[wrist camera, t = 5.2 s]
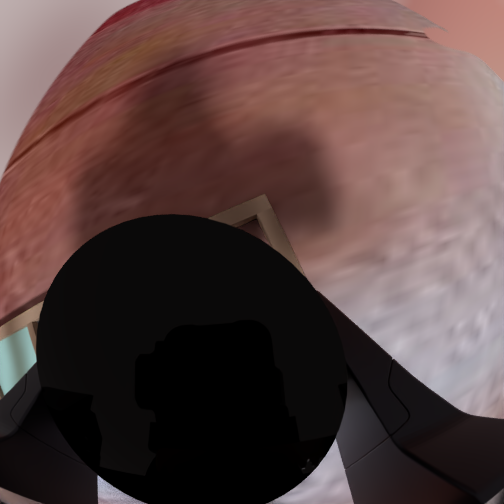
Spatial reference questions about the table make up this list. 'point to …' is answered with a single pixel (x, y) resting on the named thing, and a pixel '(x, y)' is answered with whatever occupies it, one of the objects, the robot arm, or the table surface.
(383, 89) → the table surface
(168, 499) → the supplement container
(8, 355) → the compartment sorting tray
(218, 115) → the table surface
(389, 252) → the table surface
